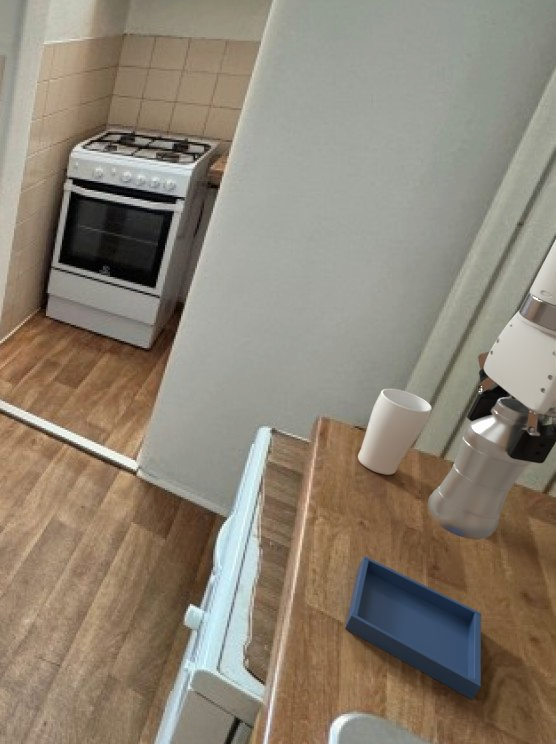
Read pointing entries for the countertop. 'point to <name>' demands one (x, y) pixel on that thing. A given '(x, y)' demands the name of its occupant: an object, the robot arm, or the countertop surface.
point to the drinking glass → (392, 429)
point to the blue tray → (417, 626)
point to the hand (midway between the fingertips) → (502, 438)
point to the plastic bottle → (481, 473)
